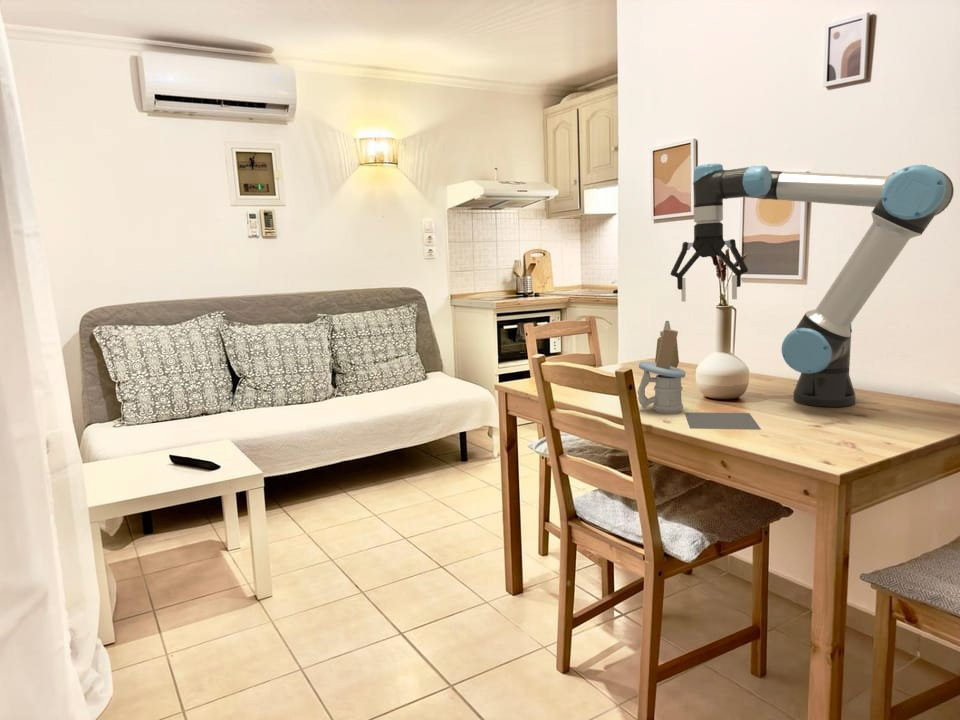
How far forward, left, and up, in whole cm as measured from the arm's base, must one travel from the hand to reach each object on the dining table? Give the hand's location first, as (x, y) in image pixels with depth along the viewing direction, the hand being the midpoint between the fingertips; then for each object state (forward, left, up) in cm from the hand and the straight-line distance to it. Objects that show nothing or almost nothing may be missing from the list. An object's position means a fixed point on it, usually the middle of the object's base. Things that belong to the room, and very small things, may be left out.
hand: (708, 300), depth 188 cm
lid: (+13, +16, -17) cm, 27 cm away
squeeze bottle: (+9, -44, -29) cm, 53 cm away
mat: (0, +26, -28) cm, 39 cm away
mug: (+14, +16, -29) cm, 36 cm away
